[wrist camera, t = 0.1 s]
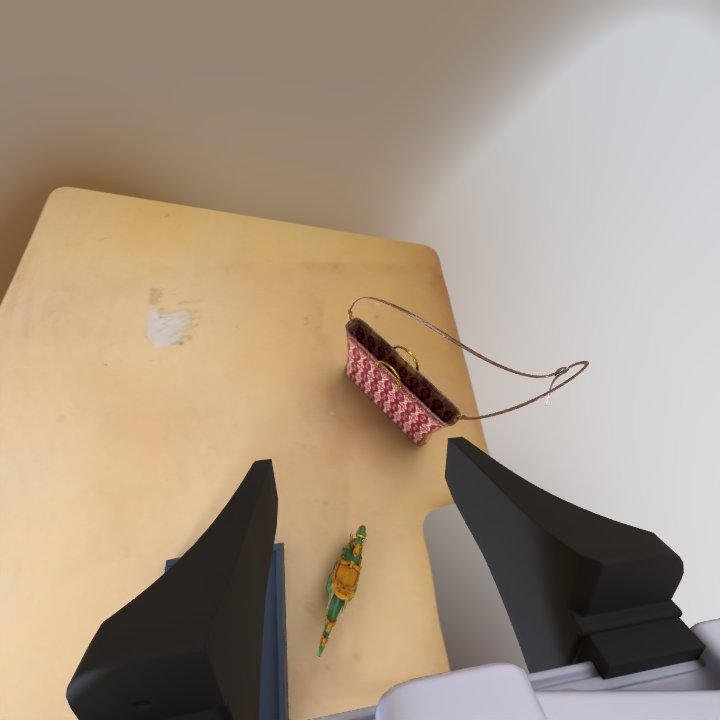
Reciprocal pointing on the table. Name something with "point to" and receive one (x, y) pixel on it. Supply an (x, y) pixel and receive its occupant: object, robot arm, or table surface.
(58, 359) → the table surface
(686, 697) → the robot arm
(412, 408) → the handbag
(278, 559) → the tray
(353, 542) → the figurine
